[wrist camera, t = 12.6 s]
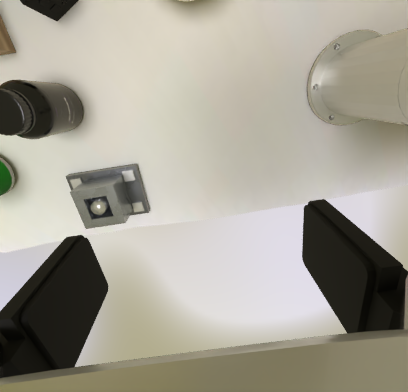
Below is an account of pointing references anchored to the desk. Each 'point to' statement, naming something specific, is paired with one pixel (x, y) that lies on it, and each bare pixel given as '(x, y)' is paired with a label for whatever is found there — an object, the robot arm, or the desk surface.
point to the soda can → (5, 177)
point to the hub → (115, 194)
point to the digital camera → (50, 7)
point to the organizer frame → (5, 40)
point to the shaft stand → (131, 181)
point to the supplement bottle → (37, 109)
